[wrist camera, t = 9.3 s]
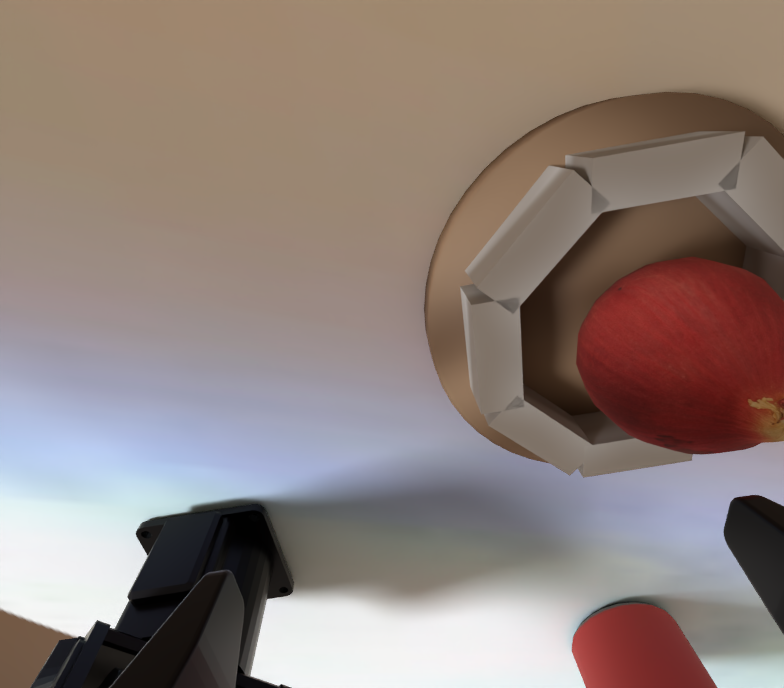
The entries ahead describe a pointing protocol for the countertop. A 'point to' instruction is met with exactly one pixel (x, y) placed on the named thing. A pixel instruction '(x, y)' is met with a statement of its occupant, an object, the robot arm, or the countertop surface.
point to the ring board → (590, 258)
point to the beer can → (636, 650)
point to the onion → (688, 356)
